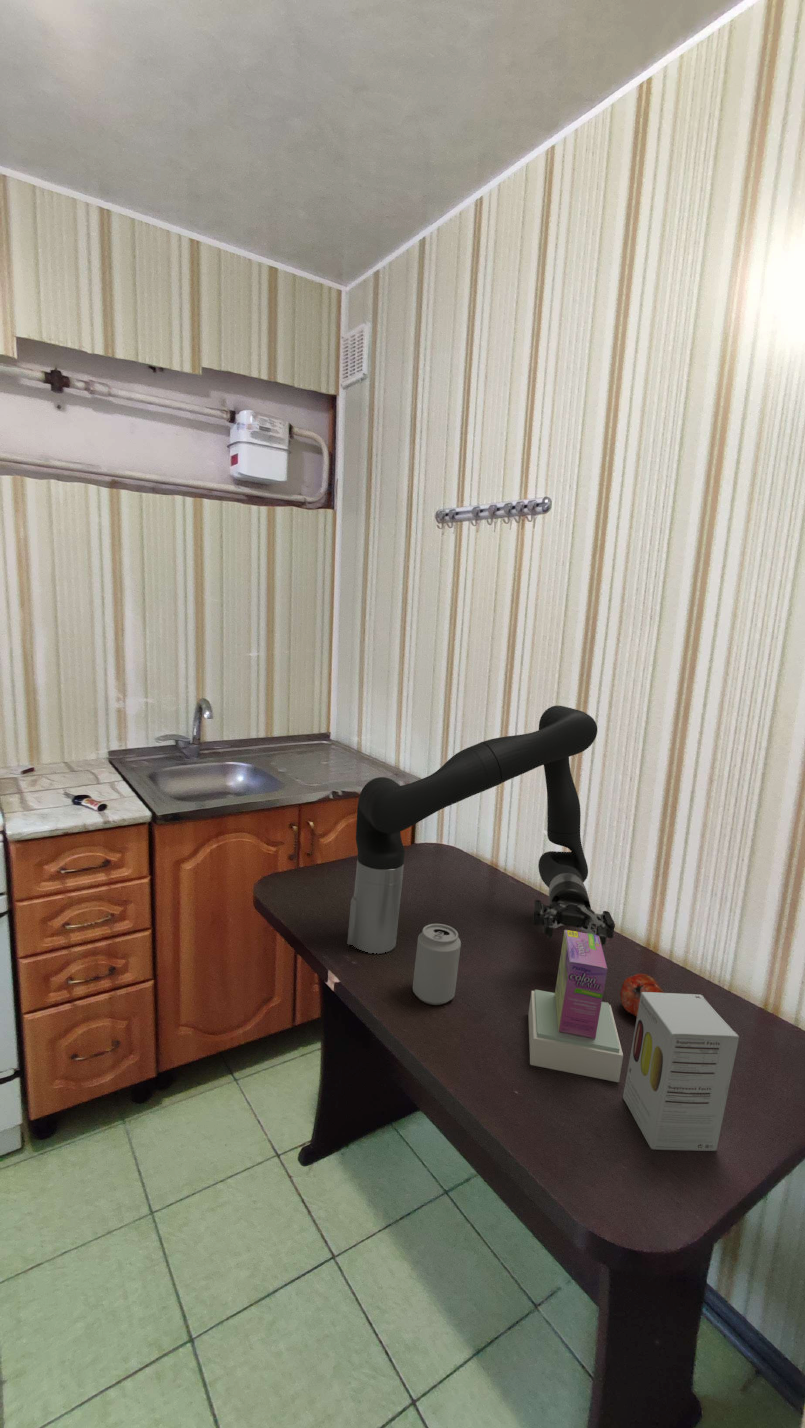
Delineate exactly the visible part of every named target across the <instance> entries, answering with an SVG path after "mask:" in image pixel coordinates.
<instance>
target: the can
mask: <svg viewBox="0 0 805 1428" xmlns="http://www.w3.org/2000/svg"><path fill="white" fill-rule="evenodd" d="M461 945H462V941H461V939H460V938H459V933H458V931H457V929H455V928H453V927H452V926H451V925H447V924H444V923H443V924H442V923H429V924H428V925H425V926H424V927H423V928H422V932H421V933H419V934H418V937H417V943H416V953H415V964H414V973H413V982H412V991H413V993H414V994H415V996H416V997H417V998H418V999H419V1000H420V1001H421V1002H423V1003H426V1004H428V1005H433V1006H439V1005H444V1004H446V1003H448V1002H450V1001H451V1000H453V999H454V998H455V995H456V988H457V979H458V971H459V963H460V954H461Z"/></svg>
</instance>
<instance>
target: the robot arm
mask: <svg viewBox="0 0 805 1428" xmlns="http://www.w3.org/2000/svg"><path fill="white" fill-rule="evenodd" d="M538 723H539V724H538V730H536V731H533V732H528V733H524V734H516V735H506V736H501V737H495V738H491V739H487V740H484V741H483V740H482V741H480V742H478V743H476V744H474V745H471V746H469V747H466V748H464V749H462V750H460V751H458V752H457V753H455V754H453V756H451V757H450V758H449V759H448V760H447V761H446V762H445V763H444V764H443V765H442V766H441V767H439V769H438V770H436V771H435V772H434V773H431V774H430V775H427V776H426V777H423V778H421V779H418V780H415V781H413V782H410V783H406V784H402V785H400V784H399V783H398V782H397V781H395V780H393V779H392V778H389V777H382V776H380V777H375V778H373V779H371V780H369V781H368V782H366V783H365V785H363V787H362V789H361V791H360V794H359V797H358V800H357V808H356V823H355V824H356V826H355V844H356V849H357V850H356V851H357V856H356V859H357V860H356V870H355V881H354V891H353V892H354V893H353V895H352V898H351V899H350V908H349V909H350V910H349V917H348V918H349V919H348V930H347V942H346V945H347V944H351V945H353V946H354V947H356V948H357V949H359V950H362V951H365V952H368V953H367V954H372V953H374V954H373V955H380V954H385V952H386V953H389V952H390V951H392V950H393V949H395V947H396V945H397V944H396V943H397V938H398V926H399V916H400V906H401V898H402V897H401V895H402V888H403V887H402V886H403V876H404V867H405V856H406V852H405V847H404V846H405V845H404V844H403V839H402V836H401V832H402V831H404V830H407V829H409V828H410V827H412V826H414V825H416V824H418V823H419V822H421V821H423V820H424V819H426V818H429V817H430V816H432V815H433V814H435V813H437V812H439V811H441V810H442V809H445V808H447V807H450V806H452V805H454V804H457V803H459V802H461V801H463V800H466V799H468V798H470V797H473V796H475V795H478V794H480V793H482V792H486V791H488V790H490V789H493V788H494V787H495V788H496V786H499V785H501V784H503V783H505V782H507V781H509V780H512V779H514V778H516V777H519V776H522V775H523V774H526V773H528V772H530V771H532V770H534V769H537V768H538V767H541V766H543V770H544V778H545V787H546V800H547V816H546V817H547V818H546V819H547V821H546V822H547V823H546V824H547V825H546V826H547V827H546V828H547V829H546V830H547V831H546V834H547V835H546V836H547V840H548V841H549V842H551V843H552V844H554V845H557V846H561V847H564V848H567V849H568V850H569V851H555V850H553V851H551V850H550V851H546V852H544V853H542V854H541V855H540V857H539V860H538V872H539V876H540V878H541V880H542V882H543V883H544V885H545V886H546V887H547V888H548V895H547V897H548V902H549V905H546V904H544V903H542V900H540V899H535V900H534V905H533V912H532V925H533V926H535V927H539V925H540V926H541V927H542V932H543V934H544V935H546V936H547V939H552V937H553V931H554V929H557V928H559V927H561V926H566V927H572V928H573V927H574V928H577V929H580V930H581V931H583V932H584V933H588V934H593V935H597V936H599V937H600V941H601V945H602V947H603V946H606V945H607V938H608V939H614V933H615V928H616V924H615V922H614V919H613V916H612V915H611V913H610V912H609V911H608V910H603V911H602V913H601V914H600V913H595V910H593V909H592V906H591V902H590V898H589V895H588V891H587V888H586V886H585V884H584V883H585V881H586V880H587V878H588V875H589V868H588V863H587V859H586V857H585V853H584V849H583V846H582V839H581V838H582V837H581V803H580V799H579V798H580V797H579V794H578V792H577V791H578V790H577V789H576V786H575V782H574V779H573V776H572V771H571V766H570V757H572V756H573V757H574V756H576V755H578V754H581V753H583V752H584V751H586V750H587V749H588V748H590V747H591V745H593V743H594V742H595V740H596V737H597V735H598V726H597V725H598V724H597V722H596V720H595V719H594V717H592V716H591V715H590V714H588V713H586V712H584V711H582V710H580V709H576V708H571V707H568V706H565V705H553V706H550V707H548V708H546V709H545V710H544V712H543V713H542V715H541V717H540V719H539V721H538ZM353 946H352V947H353ZM354 947H353V948H354ZM356 948H355V949H356ZM357 949H356V950H357ZM359 950H358V951H359ZM362 951H361V952H362ZM365 952H364V953H365ZM376 953H377V954H376Z"/></svg>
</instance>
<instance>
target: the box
mask: <svg viewBox="0 0 805 1428" xmlns="http://www.w3.org/2000/svg"><path fill="white" fill-rule="evenodd" d="M559 957H560V958H559V963H558V969H557V970H558V971H557V977H556V984H555V991H554V993H555V1000H556V1009H557V1020H558V1031H559V1032H562V1033H566V1034H571V1035H576V1036H581V1037H586V1038H591V1039H595V1038H596V1032H597V1026H598V1021H599V1015H600V1009H601V1003H602V1002H603V997H604V991H605V986H606V980H607V974H608V965H607V962H606V958H605V954H604V950H603V946H602V945H601V941H600V937H599V936H597V935H593V934H588V933H586V932H580V931H574V930H569V929H564V931H563V938H562V943H561V951H560V956H559Z"/></svg>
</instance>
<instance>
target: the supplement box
mask: <svg viewBox="0 0 805 1428" xmlns="http://www.w3.org/2000/svg"><path fill="white" fill-rule="evenodd" d="M635 1021H636V1022H635V1027H634V1033H633V1037H632V1044H631V1050H630V1054H629V1060H628V1066H627V1071H626V1072H627V1073H626V1078H625V1083H624V1090H623V1095H622V1098H623V1100H624V1102H625V1104H626V1105H627V1107H628V1109H629V1111H630V1113H631V1114H632V1117H633V1118H634V1120H635V1122H636V1124H637V1126H638V1128H639V1130H640V1132H641V1133H642V1135H643V1137H644V1139H645V1140H646V1143H647V1144H648V1146H649V1148H650V1149H651V1150H658V1151H661V1150H662V1151H694V1152H695V1151H698V1152H699V1151H701V1152H702V1151H703V1152H707V1151H708V1152H710V1151H711V1152H716V1151H717V1148H718V1144H719V1139H720V1135H721V1134H720V1133H721V1128H722V1125H723V1120H724V1115H725V1109H726V1105H727V1099H728V1093H729V1090H730V1089H729V1088H730V1084H731V1081H732V1080H731V1079H732V1074H733V1070H734V1064H735V1059H736V1055H737V1049H738V1045H739V1039H740V1036H739V1035H738V1033H737V1032H736V1031H734V1029H732V1028H731V1026H730V1025H729V1024H728V1023H727V1022H726V1021H725V1020H724V1019H723V1018H722V1017H721V1015H719V1013H718V1012H717V1011H716V1010H715V1009H714V1008H713V1007H712V1005H711V1004H710V1003H709V1002H708V1001H707V999H706V998H705V997H704V995H702V994H694V993H675V992H674V993H673V992H664V993H656V992H642V993H641V996H640V1002H639V1008H638V1014H637V1017H636V1020H635Z"/></svg>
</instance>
